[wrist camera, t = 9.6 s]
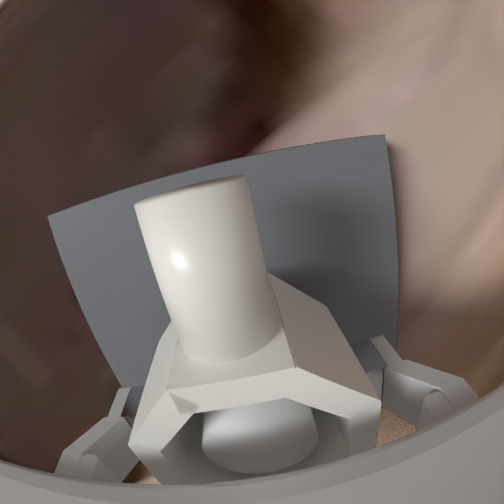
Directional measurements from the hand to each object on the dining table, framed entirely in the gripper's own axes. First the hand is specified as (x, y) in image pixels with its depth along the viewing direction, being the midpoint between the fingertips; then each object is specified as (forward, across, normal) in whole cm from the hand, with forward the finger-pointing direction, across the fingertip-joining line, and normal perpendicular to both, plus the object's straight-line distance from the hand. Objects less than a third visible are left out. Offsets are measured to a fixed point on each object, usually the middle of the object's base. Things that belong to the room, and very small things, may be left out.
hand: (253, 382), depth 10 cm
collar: (+2, 0, +2) cm, 2 cm away
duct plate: (+5, 0, 0) cm, 5 cm away
